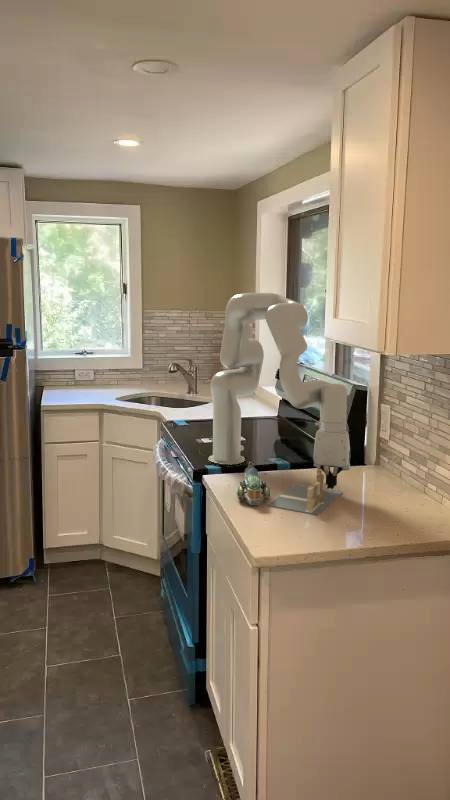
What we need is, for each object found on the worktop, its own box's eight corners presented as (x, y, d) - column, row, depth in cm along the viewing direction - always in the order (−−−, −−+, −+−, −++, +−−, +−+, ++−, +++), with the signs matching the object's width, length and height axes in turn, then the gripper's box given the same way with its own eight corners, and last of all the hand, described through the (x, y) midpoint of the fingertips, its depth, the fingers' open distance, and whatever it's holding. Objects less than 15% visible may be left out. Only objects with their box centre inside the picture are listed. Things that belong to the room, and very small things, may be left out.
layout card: (294, 484, 198) (295, 483, 197) (342, 493, 191) (342, 491, 191) (267, 505, 179) (267, 504, 179) (318, 515, 172) (318, 514, 172)
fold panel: (321, 499, 183) (322, 476, 182) (316, 498, 183) (317, 475, 182) (320, 486, 194) (321, 465, 192) (316, 486, 194) (317, 464, 193)
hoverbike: (237, 508, 178) (237, 479, 176) (234, 480, 202) (235, 454, 201) (271, 508, 178) (272, 479, 176) (264, 480, 202) (265, 454, 201)
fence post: (316, 501, 183) (317, 471, 181) (324, 502, 182) (325, 472, 180) (304, 512, 175) (305, 481, 173) (312, 513, 174) (313, 482, 172)
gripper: (304, 427, 185) (303, 488, 189) (356, 431, 180) (354, 494, 183) (311, 422, 192) (309, 481, 195) (361, 426, 187) (358, 486, 190)
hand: (331, 487), depth 189 cm, fingers closed
